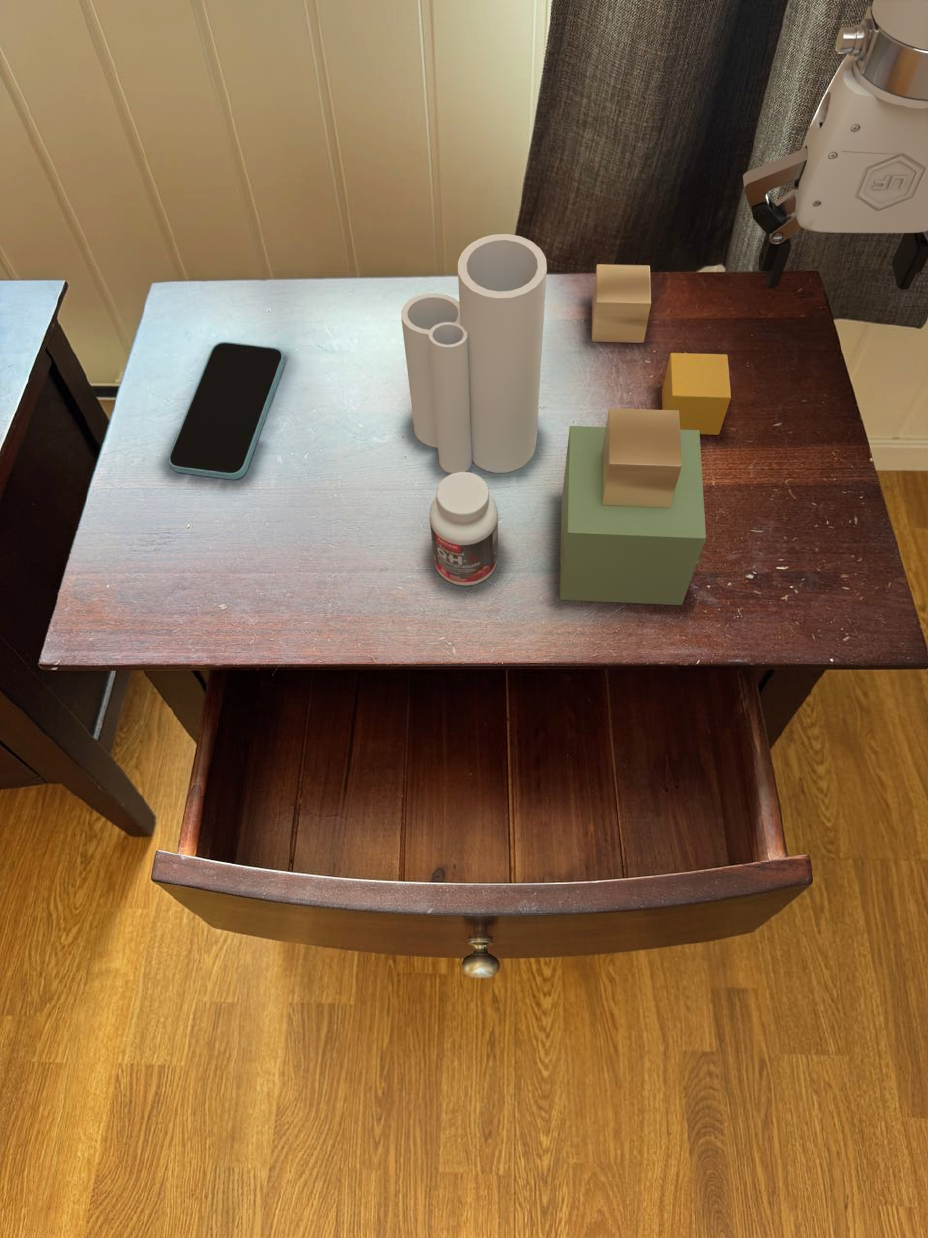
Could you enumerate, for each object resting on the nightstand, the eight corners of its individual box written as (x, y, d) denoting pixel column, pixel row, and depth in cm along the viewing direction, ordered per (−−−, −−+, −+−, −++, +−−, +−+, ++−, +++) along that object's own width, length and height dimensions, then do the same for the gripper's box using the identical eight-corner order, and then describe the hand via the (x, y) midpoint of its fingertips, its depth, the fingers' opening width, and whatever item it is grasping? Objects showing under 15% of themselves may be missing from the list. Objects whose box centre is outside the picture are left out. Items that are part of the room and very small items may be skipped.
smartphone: (164, 465, 84) (214, 340, 90) (168, 472, 85) (217, 348, 91) (241, 475, 83) (286, 348, 89) (244, 483, 84) (288, 356, 90)
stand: (561, 500, 82) (569, 425, 73) (677, 505, 81) (699, 429, 72) (559, 600, 77) (567, 532, 68) (682, 605, 76) (706, 538, 67)
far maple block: (591, 304, 93) (596, 263, 88) (642, 305, 92) (649, 264, 88) (591, 341, 90) (596, 301, 86) (643, 343, 90) (651, 303, 86)
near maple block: (601, 451, 71) (608, 407, 67) (668, 454, 71) (679, 410, 67) (601, 505, 69) (609, 463, 65) (670, 508, 69) (682, 466, 64)
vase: (539, 417, 86) (550, 235, 69) (532, 480, 83) (542, 306, 65) (417, 407, 87) (398, 226, 69) (406, 469, 84) (382, 295, 66)
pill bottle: (435, 589, 78) (427, 522, 69) (433, 535, 80) (426, 464, 72) (499, 586, 78) (500, 519, 69) (496, 532, 80) (496, 461, 72)
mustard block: (661, 391, 87) (670, 352, 83) (715, 392, 87) (727, 353, 82) (663, 433, 85) (672, 395, 80) (719, 435, 84) (731, 397, 80)
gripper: (785, 86, 55) (723, 310, 70) (1090, 86, 54) (960, 313, 69) (771, 13, 58) (715, 241, 73) (1057, 11, 57) (940, 243, 72)
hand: (834, 276), depth 71 cm, fingers open, 9 cm apart
